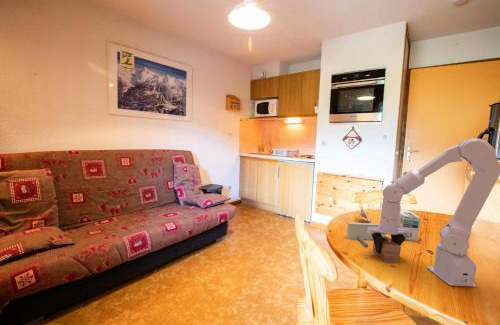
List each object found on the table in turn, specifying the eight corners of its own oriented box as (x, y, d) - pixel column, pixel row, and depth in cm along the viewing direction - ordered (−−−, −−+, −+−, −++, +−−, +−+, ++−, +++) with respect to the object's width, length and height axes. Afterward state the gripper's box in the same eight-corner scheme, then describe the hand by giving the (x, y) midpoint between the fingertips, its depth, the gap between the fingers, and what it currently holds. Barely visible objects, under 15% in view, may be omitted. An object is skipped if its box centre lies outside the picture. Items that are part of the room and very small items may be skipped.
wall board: (396, 248, 90) (398, 232, 89) (355, 246, 90) (356, 230, 89) (383, 238, 99) (384, 223, 98) (345, 236, 99) (347, 222, 98)
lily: (363, 230, 109) (376, 214, 107) (343, 214, 117) (354, 199, 115) (370, 231, 118) (382, 216, 116) (351, 216, 126) (362, 202, 124)
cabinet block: (398, 262, 79) (401, 243, 79) (384, 262, 79) (386, 243, 79) (385, 251, 87) (387, 234, 87) (372, 250, 87) (374, 233, 87)
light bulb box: (418, 241, 97) (421, 217, 96) (400, 239, 98) (404, 215, 97) (406, 231, 107) (409, 209, 106) (390, 229, 109) (393, 208, 107)
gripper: (402, 214, 86) (398, 248, 87) (364, 212, 86) (360, 246, 87) (415, 221, 79) (411, 258, 80) (374, 219, 79) (370, 256, 80)
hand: (385, 252), depth 83 cm, fingers closed on cabinet block, 5 cm apart
